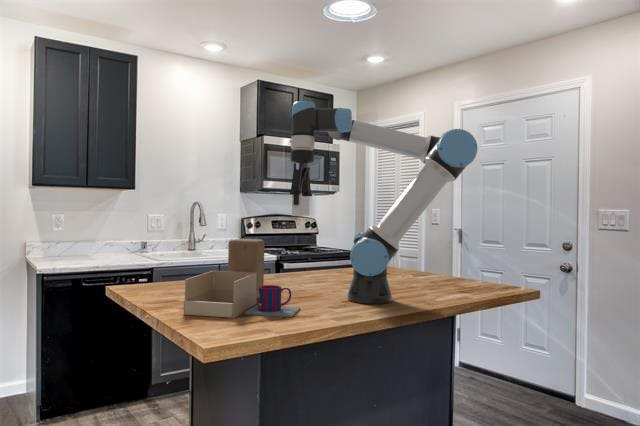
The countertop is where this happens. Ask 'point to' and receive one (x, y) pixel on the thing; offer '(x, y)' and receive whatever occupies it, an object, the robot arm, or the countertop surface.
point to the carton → (220, 293)
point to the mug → (271, 298)
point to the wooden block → (247, 258)
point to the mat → (282, 313)
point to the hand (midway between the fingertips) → (300, 215)
